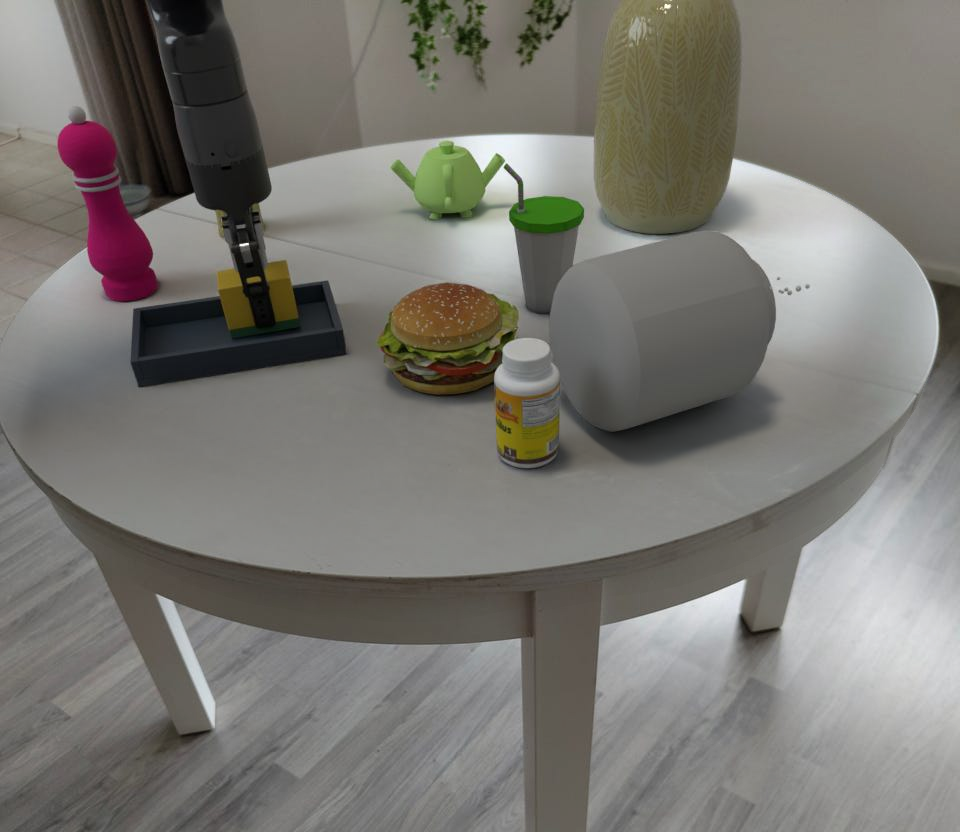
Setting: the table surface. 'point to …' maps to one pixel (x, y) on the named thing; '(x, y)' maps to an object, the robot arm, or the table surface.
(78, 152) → the pepper mill
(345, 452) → the table surface
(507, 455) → the supplement bottle
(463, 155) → the teapot
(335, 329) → the tray
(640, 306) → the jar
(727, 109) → the vase
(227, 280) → the sponge
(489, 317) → the food
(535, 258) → the cup
